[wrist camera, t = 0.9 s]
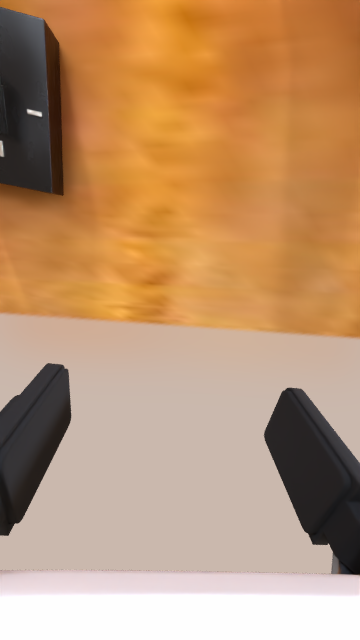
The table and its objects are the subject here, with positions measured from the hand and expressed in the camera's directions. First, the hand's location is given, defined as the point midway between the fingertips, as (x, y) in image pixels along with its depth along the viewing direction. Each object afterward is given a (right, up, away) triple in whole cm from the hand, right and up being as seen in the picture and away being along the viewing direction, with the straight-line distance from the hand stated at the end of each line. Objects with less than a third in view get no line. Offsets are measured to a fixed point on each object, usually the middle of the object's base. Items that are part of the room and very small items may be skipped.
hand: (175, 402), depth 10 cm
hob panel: (-18, +27, +15) cm, 36 cm away
